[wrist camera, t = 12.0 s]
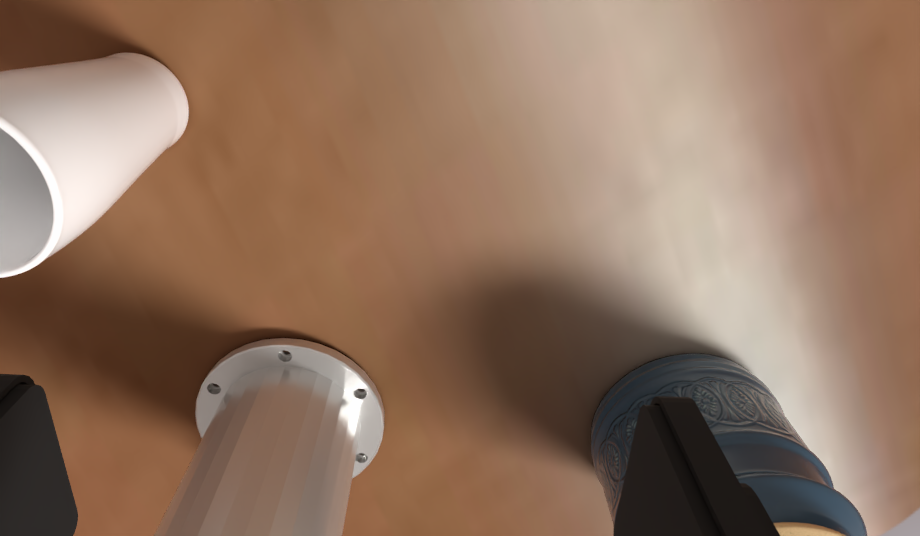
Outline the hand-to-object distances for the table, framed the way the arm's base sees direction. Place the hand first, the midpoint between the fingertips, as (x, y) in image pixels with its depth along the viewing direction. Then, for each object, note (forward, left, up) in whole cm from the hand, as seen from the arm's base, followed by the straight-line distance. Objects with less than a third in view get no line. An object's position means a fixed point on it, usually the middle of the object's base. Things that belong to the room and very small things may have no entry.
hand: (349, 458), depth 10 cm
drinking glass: (-1, +15, -28) cm, 32 cm away
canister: (-22, -19, -28) cm, 41 cm away
